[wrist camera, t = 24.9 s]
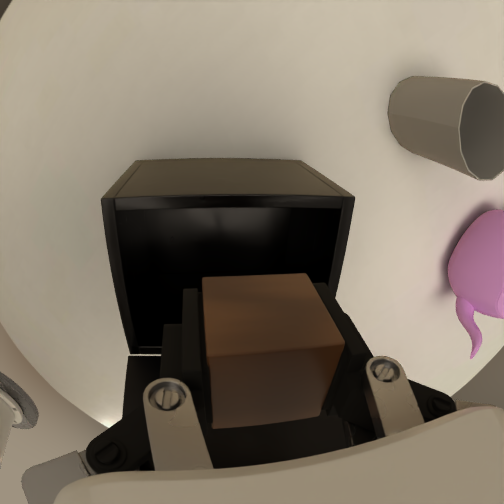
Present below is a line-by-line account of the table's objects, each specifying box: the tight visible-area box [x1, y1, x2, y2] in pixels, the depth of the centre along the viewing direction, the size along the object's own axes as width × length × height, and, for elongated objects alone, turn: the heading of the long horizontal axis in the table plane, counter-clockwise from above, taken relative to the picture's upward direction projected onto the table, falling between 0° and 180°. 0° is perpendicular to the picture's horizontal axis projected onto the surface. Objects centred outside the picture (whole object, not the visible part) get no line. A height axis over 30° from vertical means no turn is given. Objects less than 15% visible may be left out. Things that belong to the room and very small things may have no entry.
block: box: [202, 273, 345, 429], centre depth 10 cm, size 4×4×4 cm
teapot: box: [448, 209, 504, 359], centre depth 32 cm, size 20×13×12 cm, turn 143°
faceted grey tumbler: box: [388, 76, 504, 181], centre depth 22 cm, size 8×8×10 cm
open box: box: [101, 158, 355, 354], centre depth 24 cm, size 12×15×11 cm
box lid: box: [122, 356, 347, 469], centre depth 18 cm, size 12×15×5 cm
